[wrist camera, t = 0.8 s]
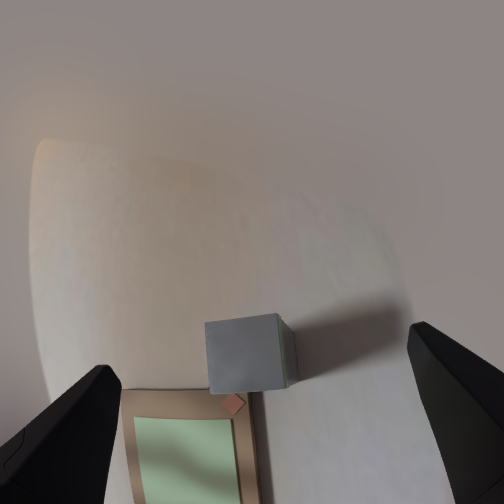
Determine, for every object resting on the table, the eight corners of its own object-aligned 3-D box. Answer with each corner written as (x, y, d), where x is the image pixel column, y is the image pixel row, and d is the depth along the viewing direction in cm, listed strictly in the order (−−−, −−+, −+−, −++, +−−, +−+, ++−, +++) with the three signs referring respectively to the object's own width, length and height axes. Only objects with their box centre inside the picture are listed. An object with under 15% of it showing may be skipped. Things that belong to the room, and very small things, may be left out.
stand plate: (265, 531, 18) (262, 537, 17) (143, 517, 20) (137, 521, 19) (249, 386, 24) (245, 387, 22) (126, 389, 26) (118, 389, 25)
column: (300, 382, 23) (285, 389, 15) (249, 387, 24) (209, 394, 15) (294, 332, 24) (276, 311, 16) (244, 338, 25) (203, 321, 17)
